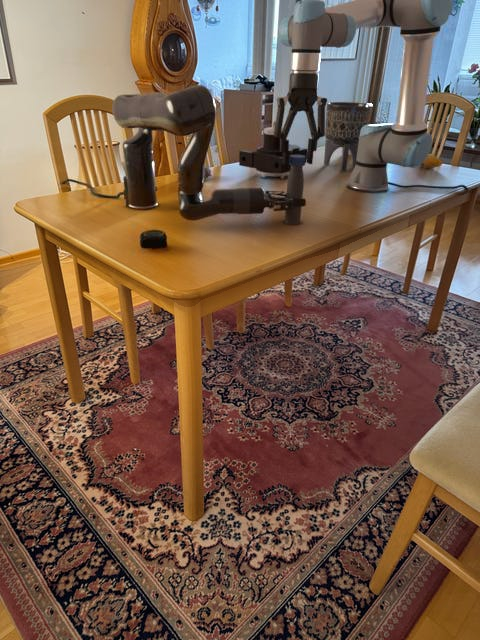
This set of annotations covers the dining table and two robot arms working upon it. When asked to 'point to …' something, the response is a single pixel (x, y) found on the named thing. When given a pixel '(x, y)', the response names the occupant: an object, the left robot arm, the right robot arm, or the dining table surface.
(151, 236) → the tape measure
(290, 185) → the bottle
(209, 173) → the rock
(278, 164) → the mechanical component
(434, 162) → the toy
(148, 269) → the dining table surface
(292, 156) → the cap
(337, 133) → the planter
